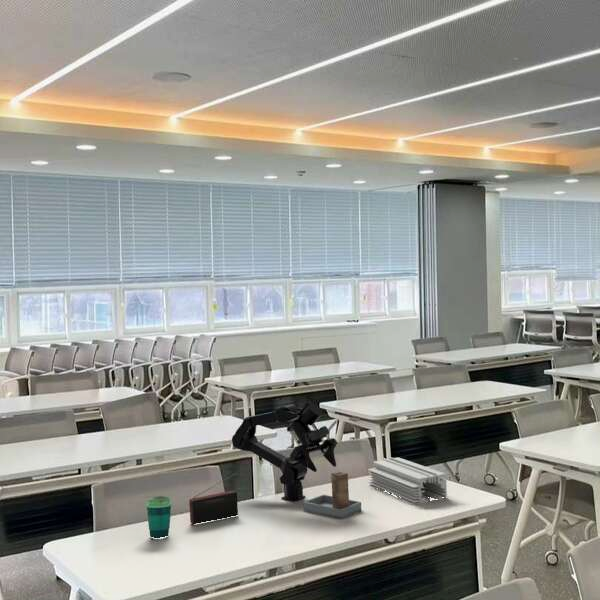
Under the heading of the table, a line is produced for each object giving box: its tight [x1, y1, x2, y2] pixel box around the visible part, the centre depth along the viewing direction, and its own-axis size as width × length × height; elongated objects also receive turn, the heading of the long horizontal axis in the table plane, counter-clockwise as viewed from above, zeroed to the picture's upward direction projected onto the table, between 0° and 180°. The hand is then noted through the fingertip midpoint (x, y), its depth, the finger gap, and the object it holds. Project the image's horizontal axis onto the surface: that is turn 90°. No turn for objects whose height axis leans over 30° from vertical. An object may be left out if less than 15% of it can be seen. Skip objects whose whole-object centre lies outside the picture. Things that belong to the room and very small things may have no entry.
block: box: [330, 470, 350, 509], centre depth 270 cm, size 4×4×13 cm
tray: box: [302, 493, 362, 520], centre depth 273 cm, size 17×11×3 cm, turn 48°
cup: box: [145, 495, 173, 538], centre depth 254 cm, size 8×8×12 cm
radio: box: [188, 471, 240, 525], centre depth 268 cm, size 19×3×15 cm, turn 120°
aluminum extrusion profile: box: [367, 456, 448, 506], centre depth 292 cm, size 14×31×10 cm, turn 26°
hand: (325, 468), depth 277 cm, fingers open, 9 cm apart
